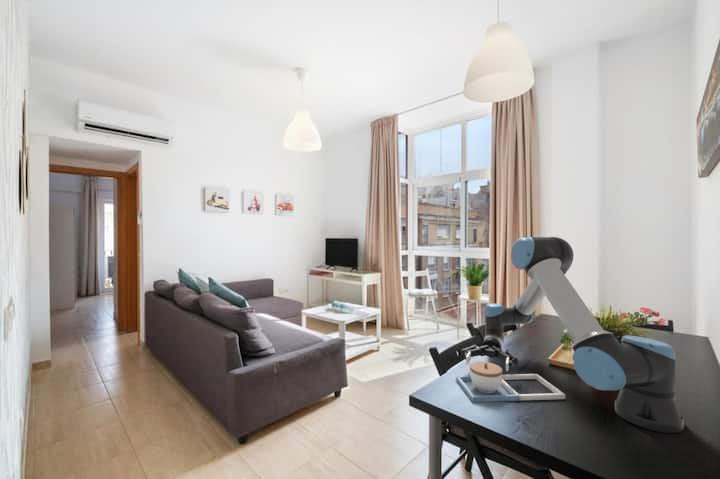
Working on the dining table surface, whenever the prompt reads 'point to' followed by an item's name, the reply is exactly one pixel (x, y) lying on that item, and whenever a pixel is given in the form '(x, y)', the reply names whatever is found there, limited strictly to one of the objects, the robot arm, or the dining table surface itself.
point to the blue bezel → (483, 397)
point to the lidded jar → (486, 376)
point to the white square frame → (555, 395)
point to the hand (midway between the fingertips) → (486, 364)
